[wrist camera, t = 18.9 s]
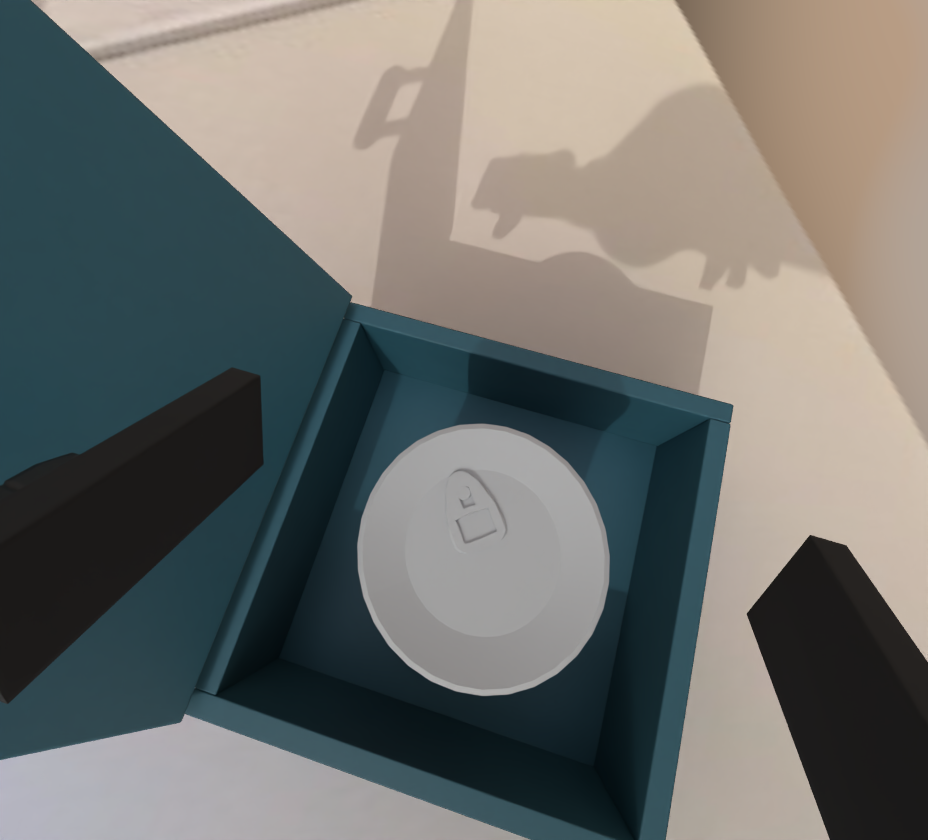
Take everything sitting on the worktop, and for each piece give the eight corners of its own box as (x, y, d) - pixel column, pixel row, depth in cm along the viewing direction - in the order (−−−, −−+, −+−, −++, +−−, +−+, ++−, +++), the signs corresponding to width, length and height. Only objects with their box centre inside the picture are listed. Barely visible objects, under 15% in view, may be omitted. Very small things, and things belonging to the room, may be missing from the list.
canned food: (489, 445, 26) (503, 375, 15) (582, 566, 24) (670, 583, 13) (375, 528, 25) (302, 517, 14) (463, 662, 23) (458, 763, 12)
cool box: (668, 439, 27) (734, 404, 20) (602, 784, 22) (659, 886, 16) (378, 358, 28) (349, 300, 22) (263, 666, 24) (183, 713, 17)
